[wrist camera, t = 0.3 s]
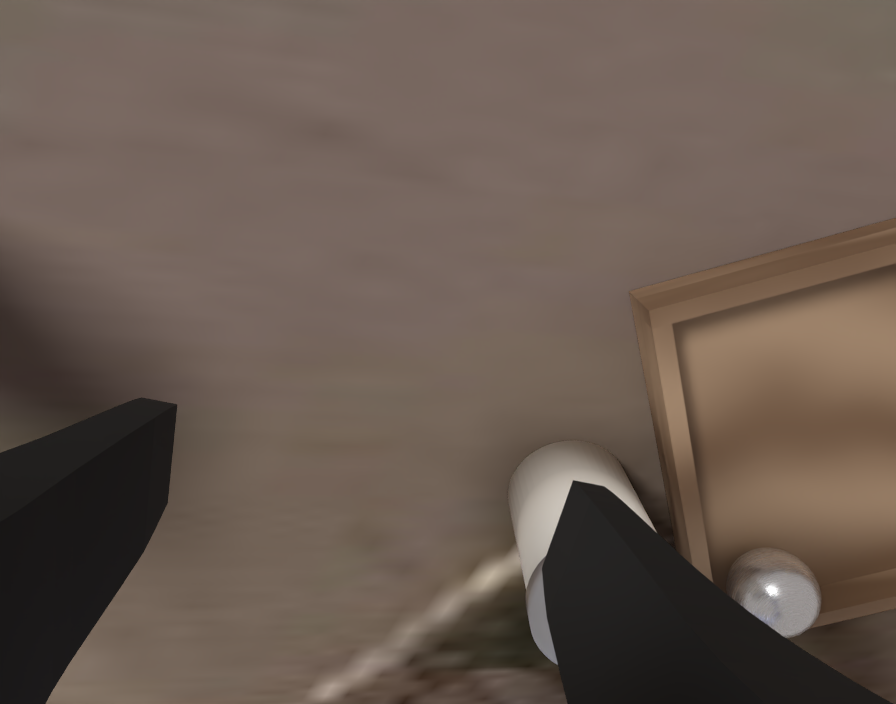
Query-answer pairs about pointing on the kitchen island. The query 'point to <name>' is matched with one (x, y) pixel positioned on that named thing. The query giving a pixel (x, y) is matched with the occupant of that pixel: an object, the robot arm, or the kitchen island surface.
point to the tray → (782, 412)
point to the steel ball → (776, 589)
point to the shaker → (556, 511)
